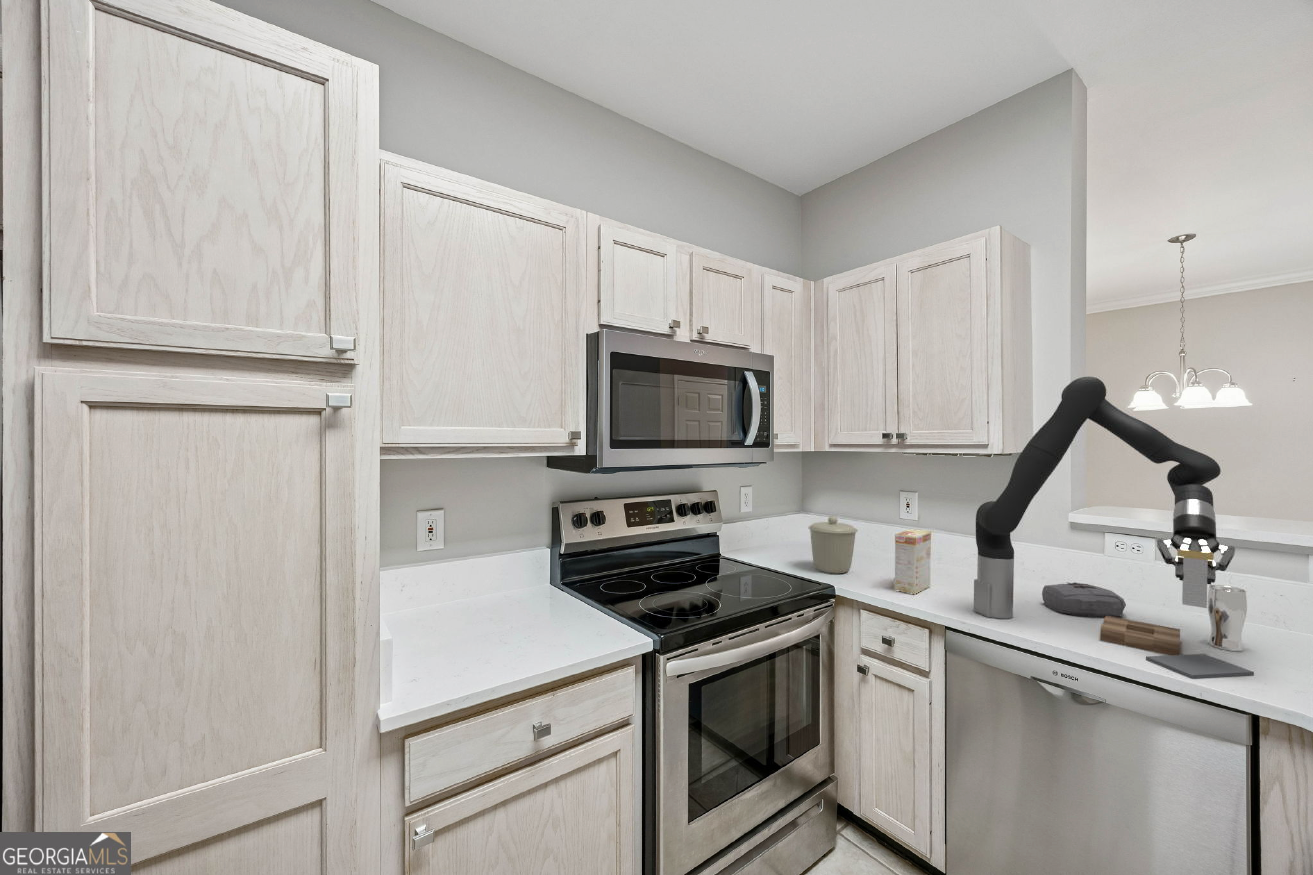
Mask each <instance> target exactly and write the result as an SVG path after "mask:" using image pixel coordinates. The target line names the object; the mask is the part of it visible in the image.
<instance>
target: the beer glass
mask: <svg viewBox="0 0 1313 875" xmlns="http://www.w3.org/2000/svg"><path fill="white" fill-rule="evenodd" d="M1247 601H1248V600H1247V591H1246V589H1242V588H1239V587H1235V586H1230V585H1223V584H1211V585H1210V584H1208V590H1207V612H1208V617H1209V621H1210V622H1209V623H1210V626H1211V627H1210V629H1211V631H1210V632H1211V633H1210V635H1209V636H1210V637H1209V640H1208V644H1209V645H1210V646H1211V647H1213V648H1216V649H1220V650H1224V651H1229V652H1236V653H1239V652H1243V651H1244V645H1243V640H1242V632H1243V628H1244V624H1245V621H1246V618H1247V612H1248V611H1247V610H1248V602H1247Z"/></svg>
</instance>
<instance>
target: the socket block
mask: <svg viewBox="0 0 1313 875" xmlns="http://www.w3.org/2000/svg"><path fill="white" fill-rule="evenodd" d="M1099 632H1100V636H1099V637H1100V640H1099V641H1100V642H1101V641H1102V642H1107V643H1110V642H1111V644H1116V645H1120V646H1124V645H1126V646H1125V647H1129V648H1134V647H1135V648H1134V649H1139V650H1143V649H1144V651H1149V652H1152V651H1153V653H1156V654H1157V653H1158V654H1163V655H1166V654H1167V655H1181V629H1180V628H1174V627H1169V626H1164V625H1158V624H1153V623H1150V622H1149V623H1148V622H1143V621H1139V620H1134V619H1133V620H1132V619H1127V618H1121V617H1118V616H1117V617H1112V616H1106V617H1104V620H1103V622H1102V624H1101V627H1100V631H1099ZM1167 655H1166V656H1167Z"/></svg>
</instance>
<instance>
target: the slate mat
mask: <svg viewBox="0 0 1313 875" xmlns="http://www.w3.org/2000/svg"><path fill="white" fill-rule="evenodd" d="M1145 661H1148V662H1151V663H1153V664H1156V665H1157V666H1160V667H1163V668H1165V669H1168V670H1171V671H1172V672H1175V673H1177V674H1180V675H1182V676H1185V677H1187V678H1189V679H1193V680H1195V679H1210V678H1211V679H1212V678H1231V677H1250V676H1252V677H1253V676H1254V675H1255V673H1254V671H1252V670H1249V669H1248V668H1245V667H1241V666H1238V665H1236V664H1233V663H1230V662H1228V661H1225V660H1222V659H1219V658H1217V657H1214V656H1211V655H1208V654H1205V653H1191V654H1180V655H1150V656H1149V655H1148V656H1146V657H1145Z"/></svg>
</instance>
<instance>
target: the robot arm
mask: <svg viewBox="0 0 1313 875" xmlns="http://www.w3.org/2000/svg"><path fill="white" fill-rule="evenodd" d="M1106 396H1107V388H1106V385H1105V383H1104V382H1103V381H1102V379H1099V378H1097V377H1095V376H1083V377H1078V378H1076V379H1074V380H1072V381H1071V382H1070V383H1069V384H1067V386H1065V387H1064V388H1063V390H1062V392H1061V398H1060V399H1061V401H1060V402H1059V404H1058V405H1057V407H1056V408H1055V410H1054V412H1053V414H1052V415H1051V417H1050V418H1049V419H1048V420H1047V421H1046V422H1045V423H1044V424H1043V425H1042V426H1041V427H1040V428H1039V429H1038V430H1037V432H1036V433H1035V434H1034V435H1033V436H1032V437H1031V438H1030V440H1029V441H1028V443H1027V444H1026V445H1025V447H1023V450H1022V451H1021V452H1020V454H1019V455H1018V457H1017V458H1016V460H1015V463H1014V466H1013V468H1012V472H1011V475H1010V477H1009V478H1010V479H1009V481H1008V483H1007V484H1006V487H1005V489H1004V490H1003V491H1002V493H1001V494H1000V495H999V496H998V498H997V499H996V500H994V501H993V500H991V501H990V500H989V501H986V502H983V503H982V504H981V505H980V506H978V508H977V511H976V513H975V543H976V544H975V545H976V548H977V572H976V574H977V575H976V576H977V577H976V579H974V580H973V611H974V612H975V613H978V614H980V615H982V616H985V617H986V618H994V619H1006V620H1007V619H1012V618H1013V617H1014V587H1015V586H1014V582H1015V581H1014V580H1015V579H1014V578H1015V577H1014V576H1015V550H1014V547H1013V544H1012V540H1011V533H1013V532H1014V531H1016V529H1017V527H1018V526H1019V525H1020V522H1021V521H1022V518H1023V517H1024V516H1025V514H1026V511H1027V509H1028V508H1029V505H1030V504H1031V502H1032V501H1033V499H1034V497H1036V495H1037V493H1039V491H1040V490H1041V488H1043V486H1044V484H1045V483H1046V482H1047V480H1048V478H1050V476H1051V475H1052V474H1053V472H1054V471H1055V470H1056V468H1057V467H1058V466H1059V463H1060V462H1061V461H1062V460H1063V458H1064V456H1065V455H1066V453H1067V452H1068V450H1069V448H1070V446H1071V444H1072V443H1073V441H1074V440H1075V438H1076V435H1077V434H1078V432H1079V430H1080V429H1081V428H1082V426H1083V425H1084V423H1086V421H1087V420H1090V421H1092V422H1093V423H1095V424H1097V425H1098V426H1100V427H1102V428H1103V429H1105V430H1107V431H1108V432H1110V433H1111V434H1112V435H1114V436H1115V437H1116V438H1119V439H1120V440H1121V441H1123V442H1124V443H1125V444H1127V445H1128V446H1130V447H1131V448H1133V449H1134V450H1135V451H1137V452H1138V453H1139V454H1141V455H1142V456H1144V457H1145V458H1146V459H1148V460H1149V461H1151V462H1152V463H1154V464H1156V465H1160V464H1165V463H1167V462H1175V463H1178V464H1176V465H1174V466H1173V467H1171V468H1170V469H1169V471H1168V472H1167V475H1166V480H1167V483H1168V484H1169V486H1170V489H1171V491H1172V492H1173V495H1174V509H1173V513H1172V514H1173V516H1172V522H1173V523H1172V526H1173V527H1172V529H1173V530H1172V532H1173V534H1172V536H1171V538H1170V539H1167V540H1166V539H1165V540H1164V539H1163V538H1157V540H1156V547H1157V549H1158V551H1159V553H1160V555H1161V557H1162V559H1163V561H1164V563H1165V564H1166V565H1172V566H1174V568H1175V572H1174V574H1175V575H1174V576H1175V578H1177V579H1179V581H1181V582H1183V579H1184V572H1183V557H1180V556H1176V557H1174V556H1172V553H1171V552H1170V547H1171V546H1172V547H1173V548H1174V549H1175V550H1176V551H1177V548H1178V549H1187V550H1196V551H1205V552H1213V553H1214V554H1215V553H1216V552H1218V551H1219V552H1220V555H1221V556H1222V557H1221V558H1220V560H1219V562H1218V561H1217V562H1215V560H1208V570H1207V585H1212V583H1215V582H1216V574H1217V573H1216V572H1217V571H1221V572H1226V571H1227V568H1228V567H1229V565H1230V563H1231V562H1232V560H1233V558H1234V556H1235V552H1236V547H1235V546H1232V545H1229V546H1225V545H1221V544H1220V543H1219V541H1218V539H1217V522H1216V514H1215V510H1214V509H1215V508H1214V497H1213V496H1214V494H1213V492H1212V491H1211V489H1210V488H1208V487H1207V486H1206V485H1205V484H1207V483H1209V482H1211V481H1213V480H1215V479H1216V478H1218V477H1219V476H1220V475H1221V472H1222V471H1221V467H1220V465H1219V463H1218V462H1217V460H1215V459H1214V458H1212V457H1210V456H1209V455H1207V454H1204V453H1202V452H1201V451H1198V450H1195V449H1193V448H1191V447H1187V446H1185V445H1182V444H1180V443H1178V442H1176V441H1174V440H1173V439H1172V438H1170V437H1168V436H1167V435H1165V434H1164V433H1163V432H1162V431H1159V429H1156V428H1155V427H1153V426H1152V425H1150V424H1148V423H1146V422H1144V421H1142V420H1140V419H1138V418H1135V416H1134V417H1133V416H1131V415H1129V414H1127V413H1125V412H1124V411H1122V410H1120V409H1119V408H1118V407H1116V406H1115V405H1113V404H1112V403H1111V402H1110V401H1108V399H1107V398H1106Z"/></svg>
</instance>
